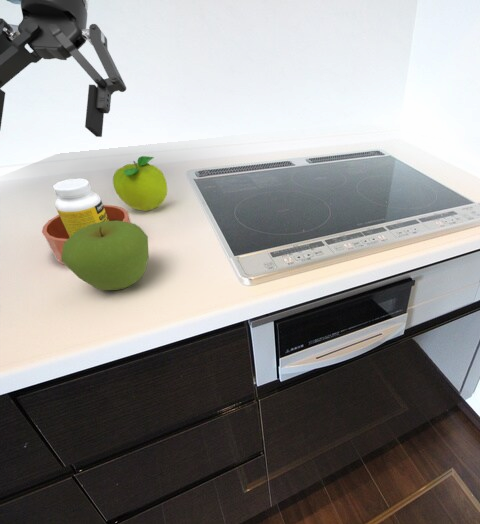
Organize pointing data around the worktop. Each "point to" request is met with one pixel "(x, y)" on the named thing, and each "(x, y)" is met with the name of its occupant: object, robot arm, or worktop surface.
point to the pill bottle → (78, 205)
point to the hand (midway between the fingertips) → (41, 131)
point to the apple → (107, 254)
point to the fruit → (140, 185)
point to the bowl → (58, 234)
